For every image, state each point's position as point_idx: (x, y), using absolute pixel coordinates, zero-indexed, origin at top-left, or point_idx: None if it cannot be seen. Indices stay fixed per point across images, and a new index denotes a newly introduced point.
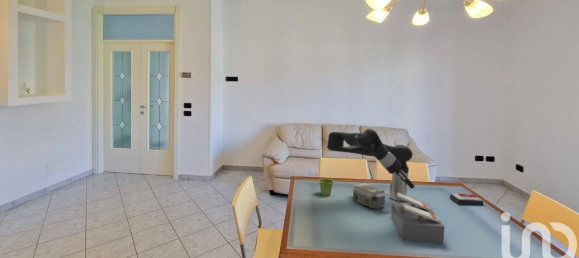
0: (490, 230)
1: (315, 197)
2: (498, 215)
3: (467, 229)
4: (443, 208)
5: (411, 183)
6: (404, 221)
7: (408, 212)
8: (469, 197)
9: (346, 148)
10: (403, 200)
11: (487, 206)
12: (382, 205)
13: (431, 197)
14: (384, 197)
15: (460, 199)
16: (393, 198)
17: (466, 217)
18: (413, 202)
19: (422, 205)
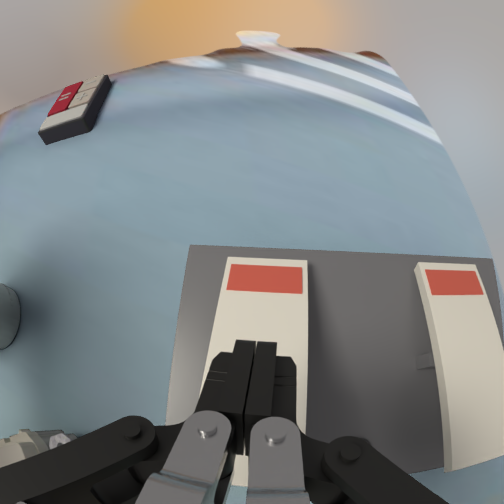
0: (297, 105)
1: None
2: (181, 67)
3: (304, 157)
4: (105, 176)
5: (274, 388)
6: None
7: (356, 412)
8: (79, 94)
9: None
10: (19, 307)
11: (120, 77)
12: None
13: (21, 192)
14: (48, 440)
15: (83, 114)
16: (4, 345)
17: (191, 129)
18: (306, 368)
19: (297, 300)
